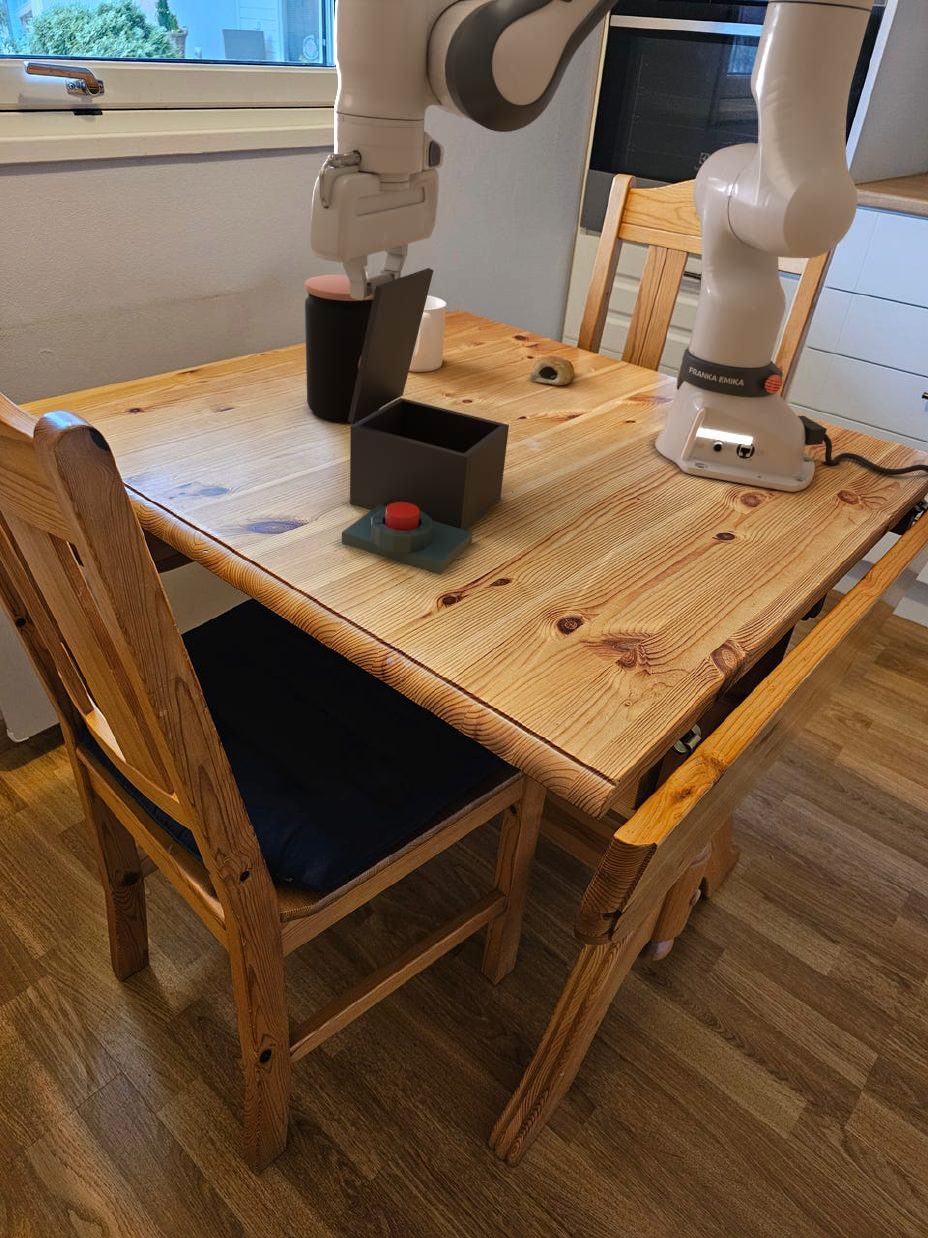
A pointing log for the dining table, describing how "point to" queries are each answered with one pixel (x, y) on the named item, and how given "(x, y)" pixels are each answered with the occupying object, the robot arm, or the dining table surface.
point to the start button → (402, 516)
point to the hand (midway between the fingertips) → (375, 292)
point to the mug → (430, 337)
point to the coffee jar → (333, 345)
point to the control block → (408, 540)
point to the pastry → (552, 371)
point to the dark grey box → (428, 461)
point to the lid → (389, 340)
